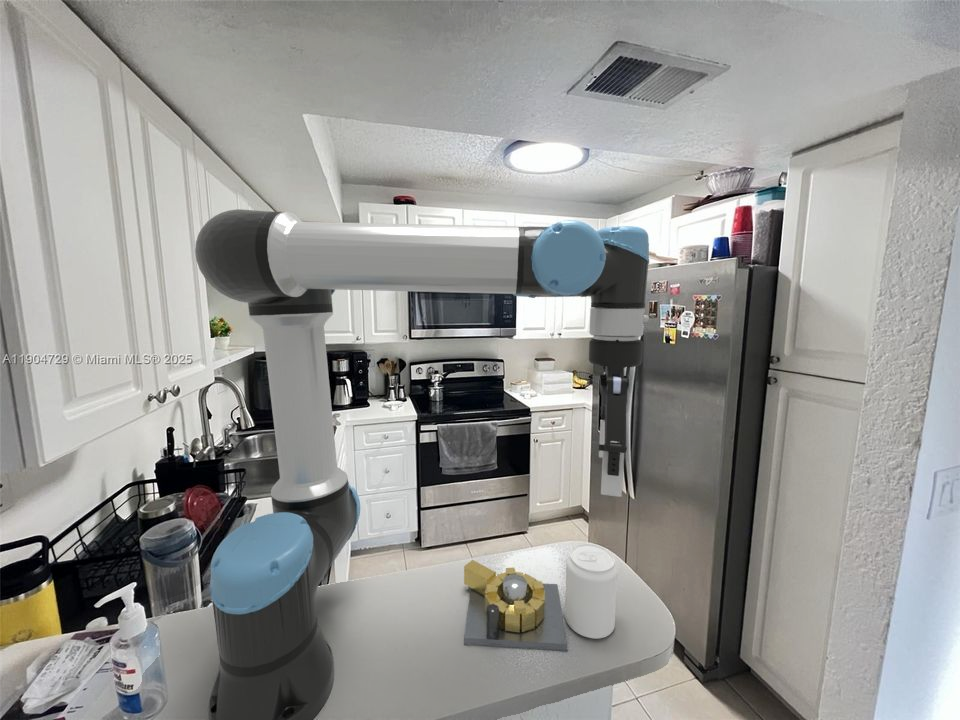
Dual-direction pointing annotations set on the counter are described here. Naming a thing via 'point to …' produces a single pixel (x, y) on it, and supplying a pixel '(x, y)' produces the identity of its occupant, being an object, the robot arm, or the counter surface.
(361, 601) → the counter surface
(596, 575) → the beverage can
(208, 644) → the counter surface
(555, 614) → the plate
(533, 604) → the segmented ring with handle
